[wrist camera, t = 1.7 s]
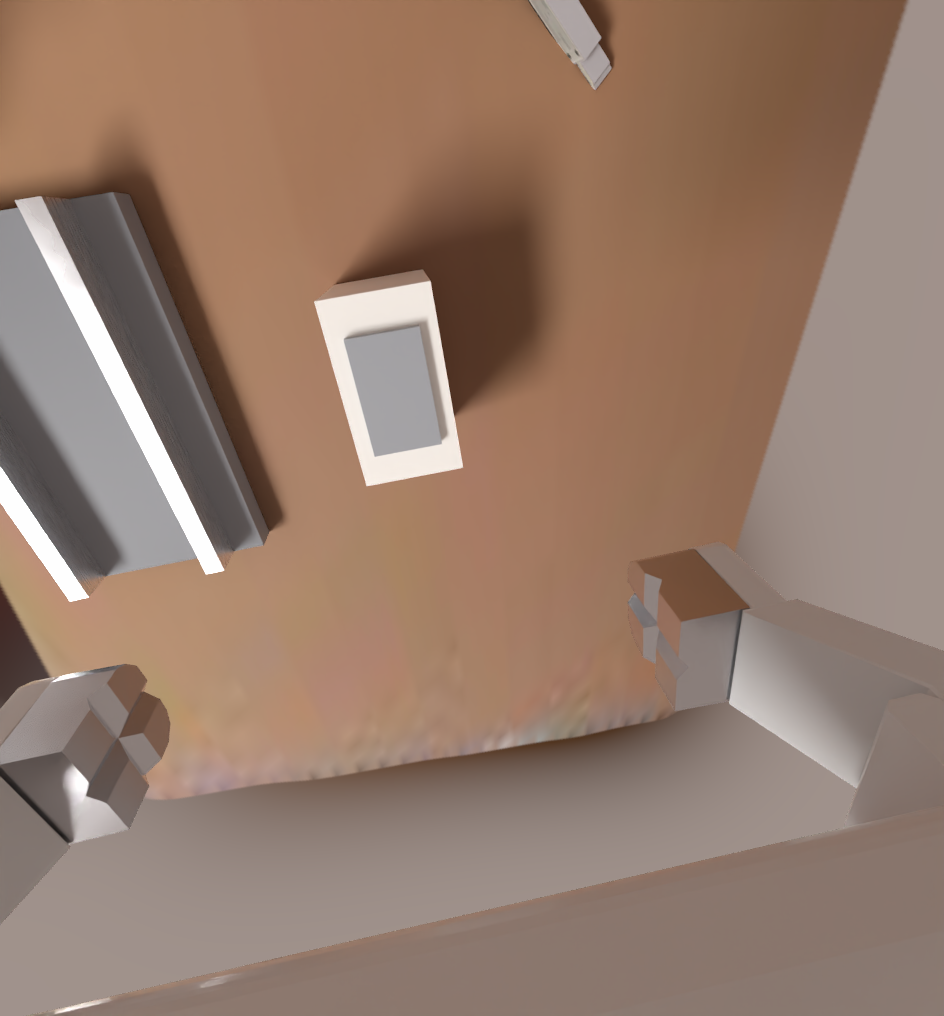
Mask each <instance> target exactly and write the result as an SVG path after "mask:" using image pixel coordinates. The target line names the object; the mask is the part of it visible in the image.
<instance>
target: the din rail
mask: <svg viewBox="0 0 944 1016" xmlns="http://www.w3.org/2000/svg"><path fill="white" fill-rule="evenodd" d="M15 202H16V204H17V206H18V208H19V210H20V212H21V214H22V216H23V218H24V220H25V222H26V224H27V226H28V228H29V230H30V231H31V233H32V235H33V237H34V239H35V241H36V243H37V245H38V247H39V249H40V251H41V253H42V255H43V257H44V259H45V261H46V263H47V265H48V267H49V269H50V270H51V272H52V274H53V276H54V278H55V280H56V282H57V284H58V286H59V288H60V290H61V292H62V294H63V296H64V298H65V300H66V302H67V304H68V306H69V308H70V309H71V311H72V313H73V315H74V317H75V319H76V321H77V323H78V325H79V327H80V329H81V331H82V333H83V335H84V337H85V339H86V341H87V343H88V345H89V347H90V348H91V350H92V352H93V354H94V356H95V358H96V360H97V362H98V364H99V366H100V368H101V370H102V372H103V374H104V376H105V378H106V380H107V382H108V384H109V386H110V387H111V389H112V391H113V393H114V395H115V397H116V399H117V401H118V403H119V405H120V407H121V409H122V411H123V413H124V415H125V417H126V419H127V421H128V423H129V425H130V426H131V428H132V430H133V432H134V434H135V436H136V438H137V440H138V442H139V444H140V446H141V448H142V450H143V452H144V454H145V456H146V458H147V460H148V462H149V464H150V465H151V467H152V469H153V471H154V473H155V475H156V477H157V479H158V481H159V483H160V485H161V487H162V489H163V491H164V493H165V495H166V497H167V499H168V501H169V503H170V505H171V506H172V508H173V510H174V512H175V514H176V516H177V518H178V520H179V522H180V524H181V526H182V528H183V530H184V532H185V534H186V536H187V538H188V540H189V542H190V544H191V545H192V547H193V549H194V551H195V553H196V555H197V557H198V559H199V561H200V563H201V565H202V567H203V569H204V571H205V573H206V574H210V573H215V572H220V571H224V570H225V568H226V566H227V564H228V562H229V560H230V558H231V556H232V554H233V552H234V549H233V547H232V545H231V543H230V541H229V539H228V536H227V534H226V532H225V530H224V528H223V526H222V524H221V521H220V519H219V517H218V515H217V513H216V511H215V509H214V506H213V504H212V502H211V500H210V498H209V496H208V493H207V491H206V489H205V487H204V485H203V483H202V481H201V478H200V476H199V474H198V472H197V470H196V468H195V466H194V463H193V461H192V459H191V457H190V455H189V453H188V450H187V448H186V446H185V444H184V442H183V440H182V438H181V435H180V433H179V431H178V429H177V427H176V425H175V423H174V420H173V418H172V416H171V414H170V412H169V410H168V407H167V405H166V403H165V401H164V399H163V397H162V395H161V392H160V390H159V388H158V386H157V384H156V382H155V380H154V377H153V375H152V373H151V371H150V369H149V367H148V364H147V362H146V360H145V358H144V356H143V354H142V352H141V349H140V347H139V345H138V343H137V341H136V339H135V337H134V334H133V332H132V330H131V328H130V326H129V324H128V321H127V319H126V317H125V315H124V313H123V311H122V309H121V306H120V304H119V302H118V300H117V298H116V296H115V294H114V291H113V289H112V287H111V285H110V283H109V281H108V278H107V276H106V274H105V272H104V270H103V268H102V266H101V263H100V261H99V259H98V257H97V255H96V253H95V251H94V248H93V246H92V244H91V242H90V240H89V238H88V235H87V233H86V231H85V229H84V227H83V225H82V223H81V220H80V218H79V216H78V214H77V212H76V210H75V208H74V205H73V203H72V201H71V199H66V198H56V197H46V196H38V197H32V198H26V199H20V200H15ZM0 502H1V504H2V505H3V506H4V508H5V509H6V511H7V512H8V514H9V515H10V516H11V518H12V519H13V521H14V522H15V524H16V525H17V526H18V528H19V529H20V531H21V532H22V533H23V535H24V536H25V538H26V539H27V541H28V542H29V543H30V545H31V546H32V548H33V549H34V551H35V552H36V553H37V555H38V556H39V558H40V559H41V561H42V562H43V563H44V565H45V566H46V568H47V569H48V570H49V572H50V573H51V575H52V576H53V578H54V579H55V580H56V582H57V583H58V585H59V586H60V588H61V589H62V590H63V592H64V593H65V595H66V596H67V597H68V599H69V600H70V601H73V600H78V599H83V598H88V597H89V596H90V595H91V594H92V593H93V591H94V590H95V589H96V588H97V587H98V585H99V584H100V583H101V582H102V581H103V580H104V578H105V577H106V574H105V573H104V571H103V570H102V568H101V567H100V565H99V563H98V562H97V560H96V559H95V557H94V556H93V554H92V552H91V551H90V549H89V548H88V546H87V545H86V543H85V541H84V540H83V538H82V537H81V535H80V534H79V532H78V530H77V529H76V527H75V526H74V524H73V523H72V521H71V519H70V518H69V516H68V515H67V513H66V512H65V510H64V508H63V507H62V505H61V504H60V502H59V501H58V499H57V497H56V496H55V494H54V493H53V491H52V490H51V488H50V486H49V485H48V483H47V482H46V480H45V479H44V477H43V475H42V474H41V472H40V471H39V469H38V468H37V466H36V464H35V463H34V461H33V460H32V458H31V457H30V455H29V453H28V452H27V450H26V449H25V447H24V446H23V444H22V442H21V441H20V439H19V438H18V436H17V435H16V433H15V431H14V430H13V428H12V427H11V425H10V424H9V422H8V420H7V419H6V417H5V416H4V414H3V413H2V411H1V409H0Z"/></svg>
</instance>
